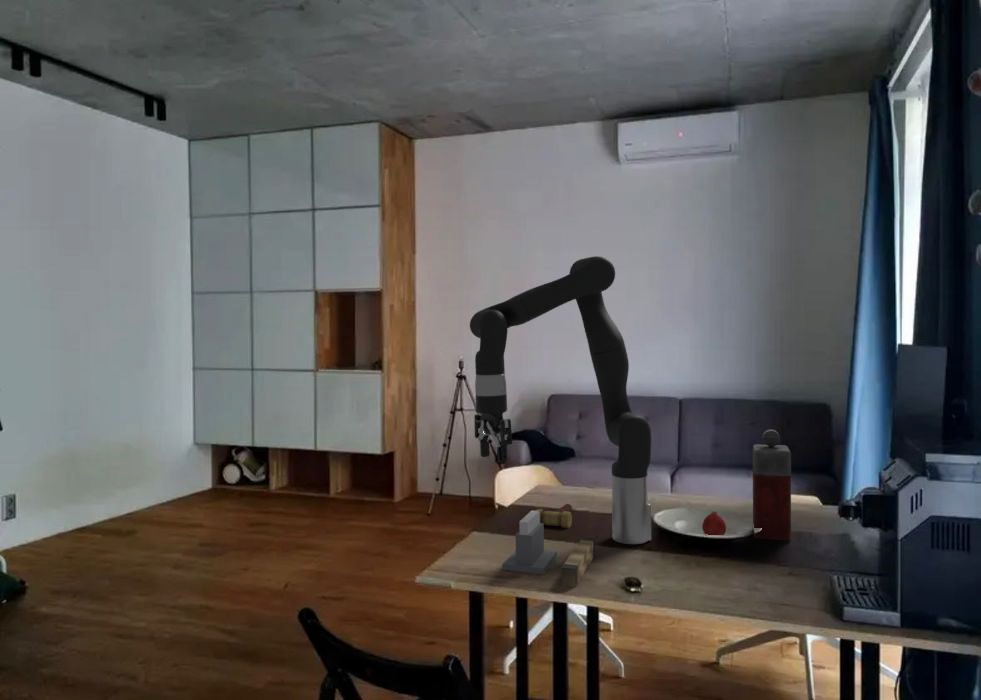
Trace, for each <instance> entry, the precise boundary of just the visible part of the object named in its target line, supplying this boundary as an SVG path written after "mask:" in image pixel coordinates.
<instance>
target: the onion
mask: <svg viewBox="0 0 981 700" xmlns="http://www.w3.org/2000/svg"><path fill="white" fill-rule="evenodd" d="M702 531H703V533H704V534H705V535H706V534H708V535H723V536H724V535H725V533H726V531H727V525H726V521H725V520H724V519H723V517H721V516H720V515H719V514H718V512H717V510H713V511H712V512H711V513H710V514H708V515H707V516H706V517H705V518H704V519H703V522H702Z"/></svg>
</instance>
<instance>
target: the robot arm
mask: <svg viewBox="0 0 981 700" xmlns="http://www.w3.org/2000/svg"><path fill="white" fill-rule="evenodd" d="M615 279H616V269H615V266H614V264H613V263H612V262H611V260H609V259H608V258H606V257H603V256H598V255H597V256H596V255H595V256H591V257H590V256H588V257H584V258H581V259H578V260H576V261H574V262H573V264H572V265H571V267H570V271H569V274H567V275H565V276H563V277H559V278H558V279H555V280H552V281H550V282H546V283H544V284H540V285H538V286H535V287H533V288H529V289H528V290H525V291H523V292H521V293H518V294H516V295H515V296H512V297H511V298H509V299H507V300H505V301H502V302H499V303H497V304H494V305H491V306H488V307H486V308H483V309H480V310H478V311H477V312H475V313H474V314H473V316H472V317H471V319H470V321H469V330H470V332H471V333H472V335H474V336H475V337H476V338H478V339H480V342H479V350H478V351H477V352H476V353H475V355H474V356H475V358H474V360H475V361H474V363H475V365H474V366H475V367H474V368H475V382H474V387H475V388H474V390H475V408H476V409H475V412H476V413H477V414H474V438H475V439H477V440H478V442H479V447H480V451H479V452H480V457H482V458H485V457H486V458H487V457H489V456H490V455H491V453H490V441H489V440H490V438H491V437H492V439H493V440H494V441H495V443H496V446H497V447H496V450H497V452H496V453H497V462H498V463H499V464H500V463H506V462H507V461H508V446H509V445H512V444H513V435H512V434H513V432H512V422H511V419H510V418H505V419H504V415H503V414H504V413H506V412H507V411H508V398H507V397H508V396H507V394H508V393H507V381H506V372H505V371H506V369H505V351H506V346H507V345H506V344H507V341H508V329H509V328H511V327H517V326H521V325H524V324H526V323H528V322H530V321H532V320H534V319H536V318H539V317H541V316H543V315H544V314H547V313H548V312H551V311H552V310H554V309H556V308H558V307H560V306H563V305H564V304H566V303H569V302H571V301H574V300H575V301H576V303H577V307H578V309H579V313H580V315H581V316H580V317H581V319H582V320H581V321H582V325H583V328H584V332H585V336H586V340H587V345H588V350H589V354H590V358H591V362H592V367H593V370H594V374H595V377H596V381H597V382H596V383H597V386H598V390H599V394H600V397H601V403H602V409H603V418H604V425H605V431H606V435H607V437H608V439H609V440H610V442H611V443H612V444H614V446H616V447H618V454H617V455H618V457H617V460H616V461H614V462H612V464H611V505H612V508H611V509H612V510H611V514H612V515H611V517H612V523H611V524H612V531H611V533H612V534H611V535H612V540H613V541H615V542H617V543H620V544H625V545H641V544H644V543H647V542H648V541H649V542H650V541H652V505H651V504H650V503H649V502H648V501H649V500H648V498H649V496H648V493H649V492H648V469H649V466H650V464H651V457H652V455H651V454H652V432H651V431H652V430H651V427H650V424H649V422H648V420H647V419H645V418H644V417H642V416H640V415H637V414H633V412H632V410H631V407H630V403H629V398H628V395H627V393H628V392H627V386H628V385H627V384H628V377H629V371H630V370H629V367H630V365H629V358H628V356H629V355H628V353H627V348H626V345H625V340H624V338H623V336H622V334H621V332H620V330H619V328H618V326H617V325H616V323H615V322H614V320H613V319H612V318H611V316H610V314H609V313H608V310H607V308H606V306H605V303H604V302H605V301H604V298H603V293H602V292H604V291H606V290H608V289H609V288H610V287H611V286H612V285H613V283H614V281H615Z"/></svg>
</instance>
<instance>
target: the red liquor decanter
mask: <svg viewBox="0 0 981 700" xmlns="http://www.w3.org/2000/svg"><path fill="white" fill-rule="evenodd" d="M762 441H763V443H764V444H757V443H756V444H753V446H752V525H753V524H754V528H762V530H761V531H760V532H758V533H756V534H755V535H754V534H753V537H754V539H763V540H775V541H788V542H789V541H790V542H791V541H792V460H791V459H792V453H791V451H790V449H789V447H788V446H787V445H785V444H784V445H783V444H779V443H780V442H781V437H780V434H779V432H777V430H775V429H767V430H765V431H764V432H763V434H762Z"/></svg>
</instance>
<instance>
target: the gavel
mask: <svg viewBox="0 0 981 700" xmlns="http://www.w3.org/2000/svg"><path fill="white" fill-rule="evenodd" d="M572 510H573V505H572V504H570V503H565V504H564V505H563V506H561V507H560V508H558V509H557V510H555V511H554V510H553V511H552V510H551V511H550V510H546V511H545V510H544V509H543V508H537V509H536V510H535V511H539V512H540V523H544V526H552V527H561V528H563V529H564V528H565V529H568V528H570V527H571V526H572V525H573V514H572V513H571V512H572Z"/></svg>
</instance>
